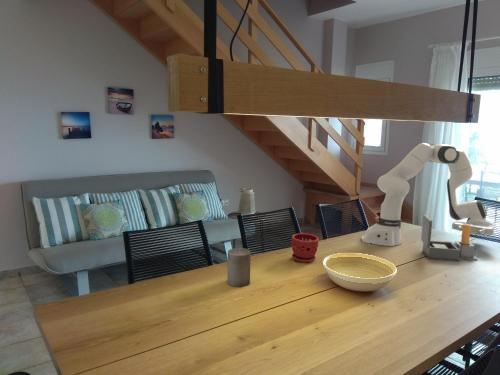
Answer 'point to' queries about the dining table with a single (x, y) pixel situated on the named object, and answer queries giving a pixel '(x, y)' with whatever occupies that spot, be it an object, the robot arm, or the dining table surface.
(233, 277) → the pillar candle
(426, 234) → the equipment case
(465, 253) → the grey square holder
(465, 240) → the rod
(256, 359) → the dining table surface
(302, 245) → the plant pot
